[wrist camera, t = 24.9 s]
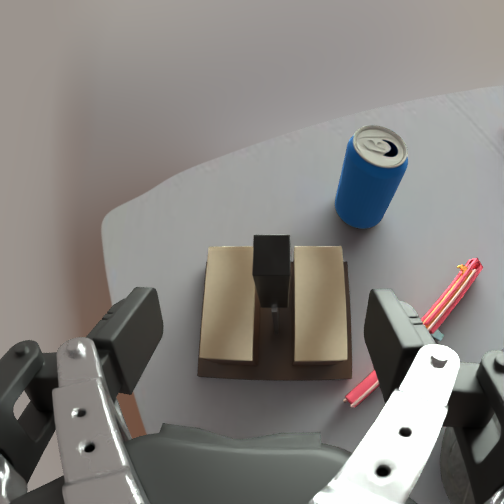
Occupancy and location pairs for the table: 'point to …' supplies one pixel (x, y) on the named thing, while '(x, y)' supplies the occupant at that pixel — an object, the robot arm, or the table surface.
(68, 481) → the robot arm
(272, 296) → the black block with pin
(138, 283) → the table surface
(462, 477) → the bowl
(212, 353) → the slotted block
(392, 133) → the beverage can
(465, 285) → the pink plastic rod
